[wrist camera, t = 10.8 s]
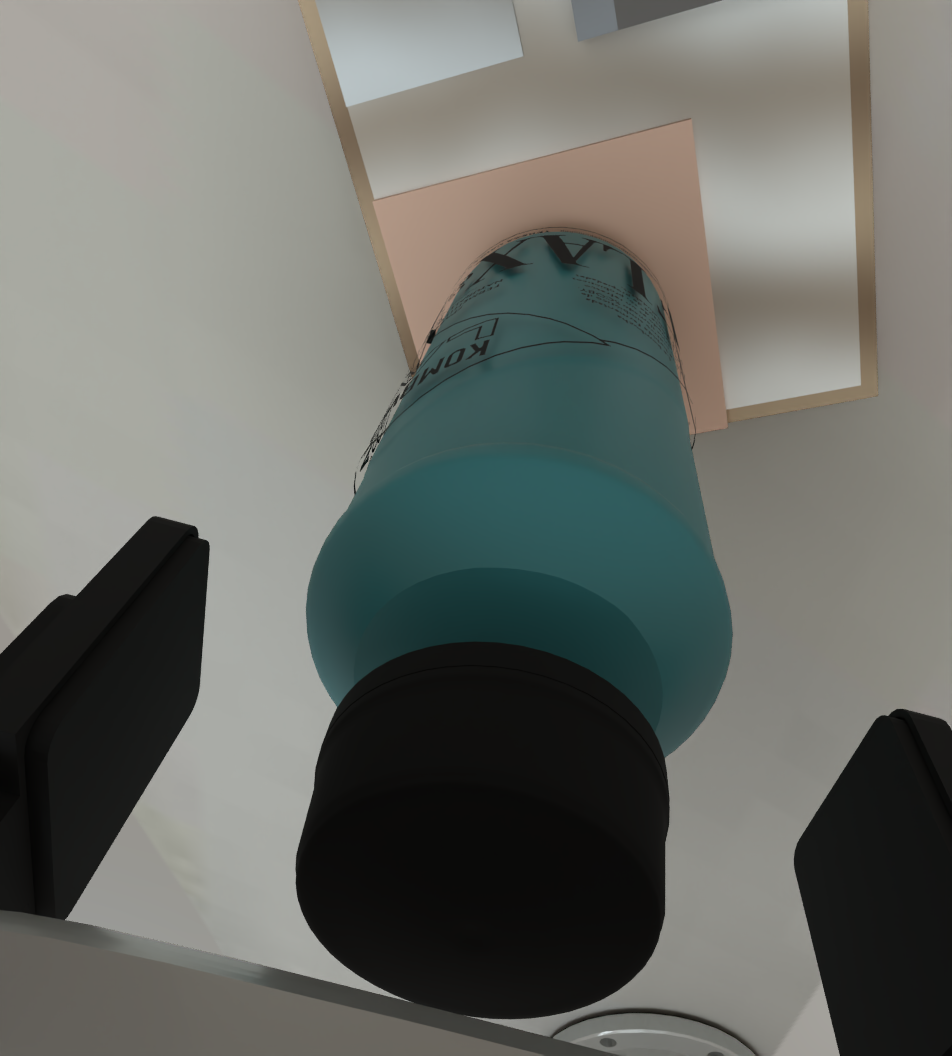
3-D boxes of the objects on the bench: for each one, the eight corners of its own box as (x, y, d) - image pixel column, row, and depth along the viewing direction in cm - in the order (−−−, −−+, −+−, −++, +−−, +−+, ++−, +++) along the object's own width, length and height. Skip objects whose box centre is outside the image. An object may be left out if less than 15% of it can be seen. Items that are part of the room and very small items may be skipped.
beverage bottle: (711, 279, 24) (993, 877, 7) (592, 460, 28) (592, 1164, 10) (511, 166, 23) (287, 541, 6) (413, 367, 27) (92, 971, 10)
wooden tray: (872, 388, 26) (915, 444, 23) (443, 466, 29) (423, 525, 26) (846, -535, 17) (911, -681, 13) (221, -277, 20) (142, -342, 17)
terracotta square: (723, 415, 27) (728, 428, 26) (457, 463, 29) (453, 476, 28) (688, 115, 23) (691, 118, 22) (379, 195, 25) (372, 201, 24)
